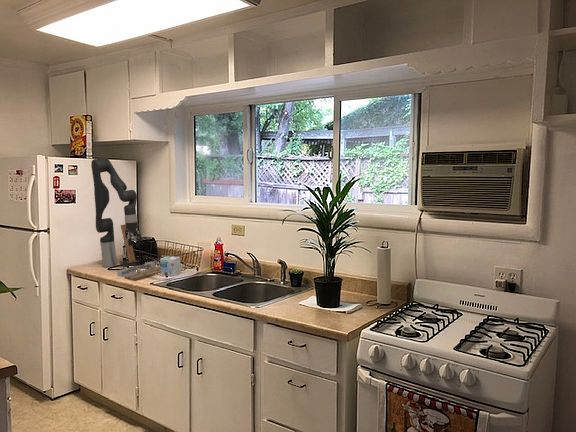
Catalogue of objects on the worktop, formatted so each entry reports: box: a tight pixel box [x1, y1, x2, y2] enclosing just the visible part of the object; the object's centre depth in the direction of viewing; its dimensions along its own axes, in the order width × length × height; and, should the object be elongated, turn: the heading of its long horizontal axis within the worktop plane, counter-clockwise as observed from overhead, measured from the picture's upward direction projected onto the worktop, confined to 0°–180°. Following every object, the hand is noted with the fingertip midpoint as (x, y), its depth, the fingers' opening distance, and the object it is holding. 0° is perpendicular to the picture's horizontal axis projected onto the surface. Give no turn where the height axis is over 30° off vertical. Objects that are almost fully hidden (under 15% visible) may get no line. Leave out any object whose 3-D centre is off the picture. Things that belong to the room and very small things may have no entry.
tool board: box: [123, 265, 161, 282], centre depth 302 cm, size 12×27×4 cm, turn 140°
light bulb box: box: [159, 256, 182, 277], centre depth 298 cm, size 11×7×11 cm, turn 72°
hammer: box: [119, 224, 146, 268], centre depth 322 cm, size 20×5×30 cm, turn 54°
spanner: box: [116, 261, 157, 278], centre depth 310 cm, size 5×25×4 cm, turn 140°
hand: (134, 246), depth 308 cm, fingers open, 8 cm apart
